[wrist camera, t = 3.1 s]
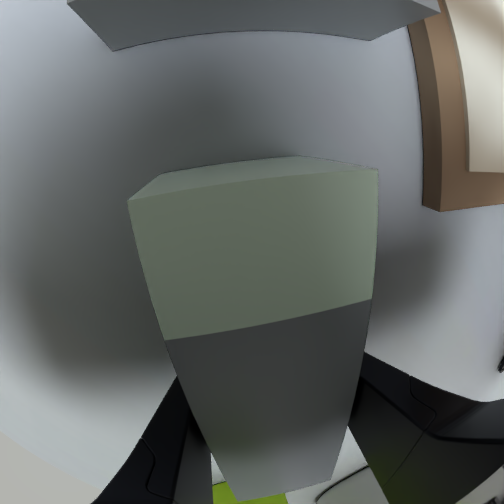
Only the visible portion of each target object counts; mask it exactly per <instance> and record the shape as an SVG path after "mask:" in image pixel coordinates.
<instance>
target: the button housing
mask: <svg viewBox="0 0 504 504" xmlns="http://www.w3.org/2000/svg"><path fill="white" fill-rule="evenodd" d="M67 4H68V5H69V6H70V7H71V8H72V9H73V10H74V11H75V12H76V13H77V14H78V15H79V16H80V18H81V19H82V20H83V21H84V22H85V23H86V24H87V25H88V26H89V27H90V28H91V29H92V30H93V31H94V32H95V33H96V34H97V35H98V36H99V37H100V38H101V39H102V40H103V41H104V42H105V43H106V45H107V46H108V47H109V48H110V49H111V50H112V51H115V50H119V49H123V48H127V47H131V46H135V45H139V44H144V43H148V42H153V41H158V40H164V39H169V38H175V37H182V36H189V35H197V34H206V33H216V32H230V31H296V32H310V33H321V34H330V35H338V36H345V37H351V38H357V39H363V40H368V41H371V40H373V39H375V38H377V37H380V36H382V35H384V34H387V33H389V32H391V31H394V30H396V29H399V28H401V27H404V26H406V25H409V24H411V23H414V22H417V21H419V20H422V19H425V18H428V17H431V16H434V15H437V14H440V13H441V11H440V8H439V5H438V2H437V0H67Z"/></svg>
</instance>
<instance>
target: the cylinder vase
mask: <svg viewBox="0 0 504 504" xmlns="http://www.w3.org/2000/svg"><path fill="white" fill-rule="evenodd" d="M317 504H389V503H388V501H387V499H386V497H385V495H384V493H383V492H382V489H381V488H380V486H379V484H378V482H377V480H376V478H375V476H374V474H373V472H372V471H371V469H370V467H367V468H366V469H364V470H362V471H360V472H358V473H356V474H354V475H352V476H351V477H349V478H347V479H345V480H344V481H342V482H340V483H339V484H337V485H335V486H334V487H332V488H331V489H330V490H328V491H327V492H326V493H324V494H323V495H322V496H321V497H320V498H319V500H318V501H317Z"/></svg>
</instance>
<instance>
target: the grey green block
mask: <svg viewBox="0 0 504 504" xmlns="http://www.w3.org/2000/svg"><path fill="white" fill-rule="evenodd" d="M127 206H128V211H129V215H130V220H131V225H132V229H133V233H134V238H135V242H136V246H137V250H138V254H139V258H140V262H141V266H142V269H143V273H144V277H145V280H146V284H147V287H148V291H149V294H150V298H151V301H152V304H153V308H154V311H155V314H156V317H157V320H158V323H159V326H160V329H161V332H162V335H163V338H164V341H165V344H166V347H167V350H168V352H169V355H170V358H171V361H172V363H173V366H174V369H175V371H176V374H177V376H178V379H179V381H180V384H181V386H182V389H183V391H184V394H185V396H186V399H187V401H188V403H189V406H190V408H191V410H192V413H193V415H194V417H195V419H196V422H197V424H198V426H199V428H200V430H201V432H202V435H203V437H204V439H205V441H206V443H207V445H208V447H209V449H210V451H211V453H212V455H213V457H214V459H215V461H216V463H217V465H218V467H219V469H220V471H221V472H222V474H223V476H224V478H225V480H226V482H227V484H228V485H229V487H230V489H231V491H232V492H233V494H234V496H235V498H236V499H237V501H245V500H251V499H257V498H262V497H268V496H272V495H277V494H282V493H286V492H290V491H294V490H298V489H301V488H305V487H309V486H312V485H315V484H319V483H322V482H325V481H328V480H331V477H332V474H333V471H334V468H335V465H336V462H337V459H338V456H339V453H340V449H341V446H342V443H343V439H344V436H345V432H346V429H347V425H348V422H349V418H350V414H351V410H352V406H353V402H354V398H355V393H356V389H357V384H358V380H359V375H360V370H361V365H362V360H363V354H364V348H365V343H366V336H367V330H368V323H369V316H370V309H371V301H372V292H373V283H374V272H375V260H376V245H377V225H378V169H374V168H369V167H364V166H359V165H354V164H348V163H343V162H337V161H331V160H325V159H319V158H312V157H305V156H290V157H278V158H268V159H258V160H249V161H240V162H232V163H225V164H218V165H211V166H204V167H197V168H191V169H185V170H179V171H174V172H168V173H163V174H160V175H158V176H157V177H156V178H155V179H153V180H152V181H151V182H149V183H148V184H147V185H146V186H144V187H143V188H142V189H141V190H139V191H138V192H137V193H136V194H134V195H133V196H132V197H131V198H129V199H128V200H127Z"/></svg>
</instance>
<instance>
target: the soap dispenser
mask: <svg viewBox="0 0 504 504" xmlns="http://www.w3.org/2000/svg"><path fill="white" fill-rule="evenodd" d="M212 490H213V504H288V502H287V499H286V496H285V493H282V494H277V495H272V496H268V497H262V498H257V499H251V500H245V501H237V499H236V498H235V496H234V494H233V492H232V491H231V489H230V487H229V485H228V484H227V482H223V483H219V484H216V485H214V486H212Z"/></svg>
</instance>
